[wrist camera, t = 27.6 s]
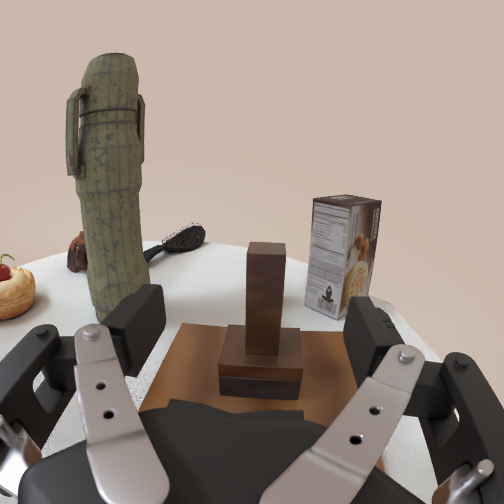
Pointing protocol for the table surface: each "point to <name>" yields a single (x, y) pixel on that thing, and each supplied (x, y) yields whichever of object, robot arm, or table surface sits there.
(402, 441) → the table surface
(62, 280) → the table surface
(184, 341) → the cutting board
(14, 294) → the pastry
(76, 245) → the brown looped piece
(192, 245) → the hairbrush
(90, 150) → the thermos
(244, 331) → the wooden post on base
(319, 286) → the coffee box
